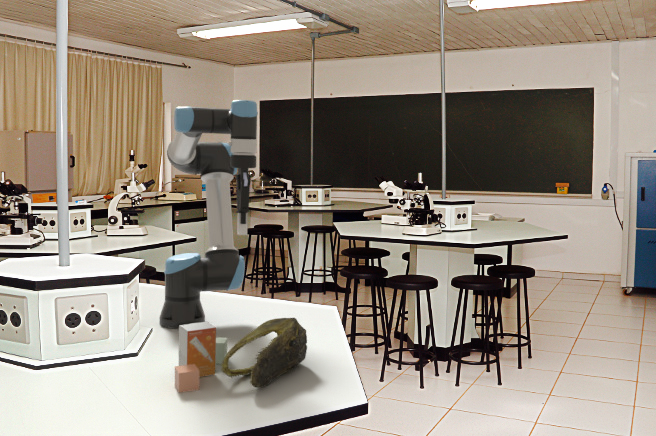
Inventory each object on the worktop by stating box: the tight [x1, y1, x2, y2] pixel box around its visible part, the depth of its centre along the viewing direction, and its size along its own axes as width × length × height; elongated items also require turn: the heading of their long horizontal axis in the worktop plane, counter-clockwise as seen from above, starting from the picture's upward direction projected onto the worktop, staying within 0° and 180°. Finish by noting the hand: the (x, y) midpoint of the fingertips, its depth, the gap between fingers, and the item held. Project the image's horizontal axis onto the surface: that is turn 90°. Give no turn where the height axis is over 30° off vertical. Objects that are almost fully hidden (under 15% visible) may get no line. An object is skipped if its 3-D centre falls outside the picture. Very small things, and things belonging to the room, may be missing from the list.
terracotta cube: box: [174, 364, 200, 393], centre depth 151 cm, size 5×5×5 cm
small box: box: [178, 321, 217, 378], centre depth 160 cm, size 8×6×13 cm
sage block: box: [215, 336, 228, 365], centre depth 170 cm, size 5×5×6 cm
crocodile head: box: [220, 317, 308, 389], centre depth 161 cm, size 27×17×15 cm
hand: (242, 234), depth 179 cm, fingers closed
